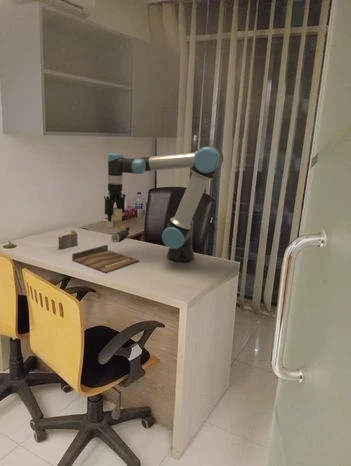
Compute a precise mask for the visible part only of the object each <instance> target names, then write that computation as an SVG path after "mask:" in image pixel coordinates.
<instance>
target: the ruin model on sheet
mask: <svg viewBox="0 0 351 466" xmlns="http://www.w3.org/2000/svg"><path fill="white" fill-rule="evenodd" d="M70 232H71V233H69V234H66V235H65V234H64V235H61V236H58V237H57V238H58V249H59V250H65V249H70V248H74V247H78V233H77V231H76V230H70Z"/></svg>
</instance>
